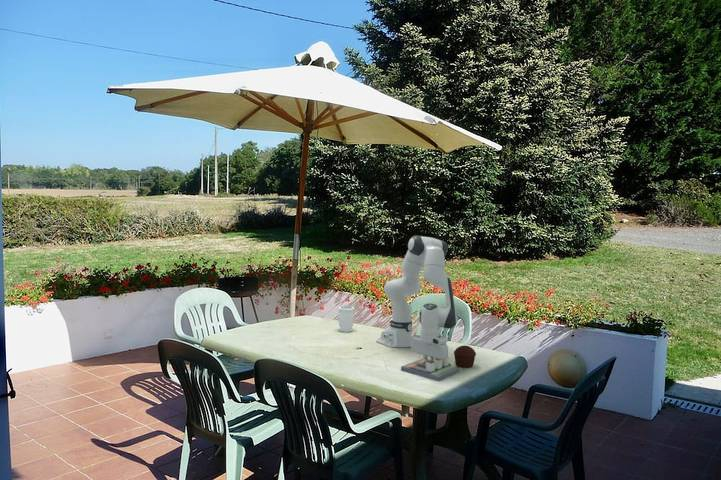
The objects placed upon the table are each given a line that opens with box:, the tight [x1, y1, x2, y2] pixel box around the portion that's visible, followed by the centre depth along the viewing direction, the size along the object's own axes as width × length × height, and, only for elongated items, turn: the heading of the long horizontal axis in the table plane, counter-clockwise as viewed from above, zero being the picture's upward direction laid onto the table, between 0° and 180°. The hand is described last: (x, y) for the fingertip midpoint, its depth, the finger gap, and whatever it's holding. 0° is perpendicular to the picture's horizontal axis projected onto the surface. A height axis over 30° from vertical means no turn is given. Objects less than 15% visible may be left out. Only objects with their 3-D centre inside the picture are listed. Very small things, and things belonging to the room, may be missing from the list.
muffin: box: [453, 345, 477, 369], centre depth 269 cm, size 12×11×10 cm
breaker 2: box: [441, 356, 450, 366], centre depth 261 cm, size 3×3×5 cm
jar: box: [337, 305, 355, 333], centre depth 336 cm, size 11×10×15 cm
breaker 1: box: [426, 359, 435, 372], centre depth 253 cm, size 3×3×5 cm
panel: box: [400, 357, 461, 382], centre depth 260 cm, size 22×19×3 cm
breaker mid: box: [433, 358, 442, 369], centre depth 257 cm, size 3×3×5 cm
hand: (428, 364), depth 261 cm, fingers closed
